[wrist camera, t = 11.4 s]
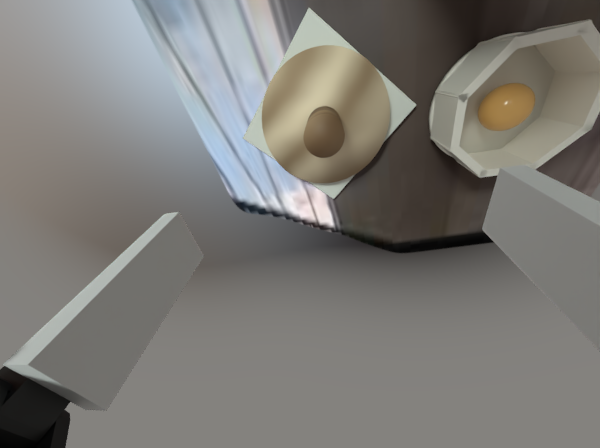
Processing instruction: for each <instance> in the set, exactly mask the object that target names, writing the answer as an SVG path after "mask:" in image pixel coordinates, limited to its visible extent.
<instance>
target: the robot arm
mask: <svg viewBox="0 0 600 448" xmlns="http://www.w3.org/2000/svg"><path fill="white" fill-rule="evenodd" d="M482 230H483V231H484V232H485V233H486V234H487V235H488V236H489V237H490V238H491V239H492V240H493V241H494V242H495V243H496V244H497V246H498V247H499V248H500V249H501V250H502V251H503V252H504V253H505V254H506V255H507V256H508V257H509V258H510V259H511V260H512V261H513V262H514V263H515V264H516V265H517V266H518V267H519V268H520V269H521V270H522V271H523V273H524V274H525V275H526V276H527V277H528V278H529V279H530V280H531V281H532V282H533V283H534V284H535V285H536V286H537V287H538V288H539V289H540V290H541V291H542V292H543V293H544V294H545V295H546V296H547V297H548V298H549V299H550V300H551V302H552V303H553V304H554V305H555V306H556V307H557V308H558V309H559V310H560V311H561V312H562V313H563V314H564V315H565V316H566V317H567V318H568V319H569V320H570V321H571V322H572V323H573V324H574V325H575V326H576V327H577V329H579V330H580V332H581V333H582V334H583V335H584V336H585V337H586V338H587V339H588V340H589V341H590V342H591V343H592V344H593V345H594V346H595V347H596V348H597V349H598V350H599V351H600V202H599V201H597V200H595V199H593V198H591V197H589V196H587V195H585V194H583V193H581V192H579V191H577V190H575V189H573V188H571V187H569V186H567V185H565V184H563V183H561V182H559V181H557V180H555V179H553V178H550V177H548V176H546V175H544V174H542V173H540V172H538V171H536V170H534V169H532V168H530V167H528V166H526V165H518V166H510V167H503V168H500V169H499V173H498V176H497V180H496V183H495V186H494V190H493V193H492V197H491V200H490V203H489V207H488V210H487V214H486V217H485V220H484V224H483V227H482ZM203 257H204V255H203V253H202V252H201V250H200V248H199V246H198V245H197V243H196V241H195V239H194V238H193V236H192V234H191V232H190V230H189V229H188V227H187V225H186V223H185V222H184V220H183V218H182V216H181V214H180V213H179V212H175V213H168V214H164V215H163V216H162V217H161V218H160V219H159V220H158V221H157V222H156V223H154V224H153V225H152V226H151V227H150V228H149V229H148V230H147V231H146V232H145V233H144V234H143V235H142V236H140V237H139V238H138V239H137V240H136V241H135V242H134V243H133V244H132V245H131V246H130V247H129V248H128V249H126V250H125V251H124V252H123V253H122V254H121V255H120V256H119V257H118V258H117V259H116V260H115V261H114V262H112V264H110V265H109V266H108V267H107V268H106V269H105V270H104V271H103V272H102V273H101V274H100V275H99V276H97V277H96V278H95V279H94V280H93V281H92V282H91V283H90V284H89V285H88V286H87V287H86V288H85V289H83V290H82V291H81V292H80V293H79V294H78V295H77V296H76V297H75V298H74V299H73V300H72V301H71V302H70V303H68V304H67V305H66V306H65V307H64V308H63V309H62V310H61V311H60V312H59V313H58V314H57V315H55V316H54V317H53V318H52V319H51V320H50V321H49V322H48V323H47V324H46V325H45V326H44V327H43V328H42V329H40V330H39V331H38V332H37V333H36V334H35V335H34V336H33V337H32V338H31V339H30V340H29V341H28V342H26V343H25V344H24V345H23V346H22V347H21V348H20V349H19V350H18V351H17V352H16V353H15V354H14V355H12V356H11V357H10V358H9V359H8V360H7V361H6V362H5V363H4V364H3V365H4V367H3V368H2V369H1V370H0V448H65V446H66V440H67V435H68V429H69V424H70V414H69V413H68V412H67V411H66V410H64V409H65V408H66V407H67V405H68V404H69V403H70V402H72V403H74V404H76V405H78V406H80V407H82V408H83V409H85V410H107V409H108V408H109V406H110V404H111V403H112V401H113V399H114V398H115V396H116V395H117V393H118V392H119V390H120V389H121V387H122V385H123V384H124V382H125V381H126V379H127V377H128V376H129V374H130V373H131V371H132V369H133V368H134V366H135V365H136V363H137V362H138V360H139V358H140V357H141V355H142V354H143V352H144V350H145V349H146V347H147V346H148V344H149V342H150V341H151V339H152V338H153V336H154V335H155V333H156V331H157V330H158V328H159V327H160V325H161V323H162V322H163V320H164V319H165V317H166V315H167V314H168V312H169V311H170V309H171V308H172V306H173V304H174V303H175V301H176V300H177V298H178V297H179V295H180V293H181V292H182V290H183V289H184V287H185V285H186V284H187V282H188V281H189V279H190V277H191V276H192V274H193V273H194V271H195V270H196V268H197V266H198V265H199V263H200V262H201V260H202V258H203Z"/></svg>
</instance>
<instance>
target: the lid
mask: <svg viewBox="0 0 600 448" xmlns="http://www.w3.org/2000/svg"><path fill="white" fill-rule="evenodd" d="M389 120H390V102H389V96H388V92H387V89H386V86H385V83H384V81H383V79H382V77H381V75H380V74H379V72H378V71H377V69H376V68H375V67H374V66H373V65H372V64H371V63H370V61H369V60H367V59H366V58H365V57H363V56H362V55H361V54H359V53H357V52H355V51H353V50H351V49H348V48H345V47H341V46H335V45H323V46H317V47H312V48H309V49H306V50H304V51H302V52H300V53H298V54H296V55H295V56H293V57H292V58H290V59H289V60H288V61H287V62H286V63H285V64H284V65H283V66H282V67H281V68H280V69H279V70H278V71H277V73H276V74H275V75H274V77H273V79H272V80H271V82H270V84H269V86H268V89H267V91H266V94H265V97H264V101H263V107H262V129H263V134H264V138H265V141H266V144H267V146H268V148H269V150H270V152H271V154H272V155H273V157H274V158H275V159H276V161H277V162H278V163H279V164H280V165H281V166H282V167H283V168H284V169H285V170H286V171H288V172H289V173H290V174H292V175H294V176H295V177H297V178H300V179H302V180H305V181H308V182H313V183H333V182H338V181H341V180H344V179H347V178H349V177H351V176H353V175H355V174H356V173H358V172H359V171H361V170H362V169H363V168H364V167H366V166H367V165H368V164H369V163H370V162H371V161H372V159H373V158H374V157H375V156H376V154H377V153H378V151H379V149H380V148H381V146H382V144H383V142H384V140H385V137H386V134H387V131H388V126H389Z"/></svg>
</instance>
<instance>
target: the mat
mask: <svg viewBox="0 0 600 448" xmlns="http://www.w3.org/2000/svg"><path fill="white" fill-rule="evenodd" d="M323 45H335V46H341V47H345V48H348V49H351V50H353V51H355V52H357V51H356V50H355V49H354V48H353V47H352V46H351V45H350V44H349V43H348V42H346V41H345V40H344V39H343V38H342V37H341V36H340V35H339V34H338V33H337V32H335V31H334V30H333V29H332V28H331V27H330V26H329V25H328V24H327V23H325V22H324V21H323V20H322V19H321V18H320V17H319V16H318V15H317V14H316V13H314V12H313V11H312V10H311V9H310V8H309V9H308V11H307V13H306V15H305V17H304V19H303V21H302V23H301V24H300V26H299V28H298V30H297V32H296V34H295V36H294V38H293V40H292V42H291V44H290V46H289V48H288V50H287V52H286V54H285V56H284V58H283V60H282V62H281V64H280V66H279V68H278V70H279V69H280V68H281V67H282V66H283V65H284V64H285V63H286V62H287V61H288V60H289V59H290V58H292V57H293V56H295V55H296V54H298V53H300V52H302V51H304V50H306V49H309V48H312V47H317V46H323ZM357 53H359V52H357ZM359 54H360V53H359ZM278 70H277V71H278ZM377 71H378V70H377ZM378 72H379V74H380V75H381V77H382V79H383V81H384V83H385V86H386V89H387V92H388V96H389V102H390V120H389V126H388V131H387V134H386V137H385V140H386V139H387V138H388V137H389V136H390V135H391V134H392V132H393V131H394V130H395V129H396V128H397V127H398V126H399V124H400V123H401V122H402V121H403V120H404V119H405V118H406V116H407V115H408V114H409V113H410V112H411V111H412V110H413V109H414V107H415V106H416V104H415V103H414V102H413V101H412V100H410V99H409V98H408V97H407V96H406V95H405V94H404V93H403V92H402V91H401V90H399V89H398V88H397V87H396V86H395V85H394V84H393V83H392V82H391V81H389V80H388V79H387V78H386V77H385V76H384V75H383V74H382V73H381V72H380V71H378ZM276 73H277V72H276ZM264 97H265V96H264ZM263 101H264V98H263V100H262V102H261V104H260V106H259V107H258V109H257V111H256V113H255V115H254V117H253V119H252V121H251V123H250V125H249V127H248V129H247V131H246V133H245V135H244V137H243V139H245V140H246V141H248V142H249V143H251V144H252V145H254V146H255V147H257V148H258V149H260V150H261V151H263V152H264V153H266V154H267V155H269V156H270V157H272V158H273V159H275V158H274V157H273V155H272V154H271V152H270V150H269V148H268V146H267V144H266V141H265V138H264V134H263V129H262V107H263ZM385 140H384V141H385ZM383 143H384V142H383ZM275 160H276V159H275ZM353 177H354V175H353V176H351V177H349V178H347V179H344V180H341V181H338V182H333V183H313V182H309V183H311V184H312V185H314V186H315V187H317V188H318V189H319V190H321V191H322V192H324V193H325V194H327V195H328V196H330V197H331V198H333V199H334V198H335V197H336V196H337V195H338V194H339V193H340V191H341V190H342V189H343V188H344V187H345V186H346V185H347V183H348V182H349V181H350V180H351V179H352V178H353Z"/></svg>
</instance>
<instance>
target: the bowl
mask: <svg viewBox="0 0 600 448" xmlns="http://www.w3.org/2000/svg"><path fill="white" fill-rule="evenodd" d="M599 112H600V33H599V32H598V30H597V29H596V28H595V26H594V25H593V23H592V20H590V19H589V20H584V21H578V22H572V23H567V24H561V25H556V26H550V27H545V28H539V29H537V30H534V31H530V32H517V33H511V34H505V35H501V36H498V37H494V38H492V39H489V40H487V41H482V42H479V43H478V44H477V46H476V47H474V48H473V49H471V50H470V51H469V52H467V53H466V54H465V55H464V56H462V57H461V58H460V59H459V60H458V61H457V62H456V63H455V64H454V65H453V66H452V67H451V68H450V70H449V71H448V72H447V73H446V74H445V76H444V77H443V79H442V80H441V82H440V83H439V85H438V87H437V89H436V91H435V93H434V96H433V98H432V101H431V105H430V109H429V115H428V124H429V131H430V135H431V137H430V139H431V140H433V141H434V143H435V144H436V145H437V147H438V148H439V149H440V150H442V151H443V152H445V153H446V154H447V155H449V156H451V157H453V158H454V159H455V160H456V162H458V163H459V164H461V165H462V166H463V167H465V168H466V169H468V170H469V171H470V172H472V173H473V174H475V175H476V176H478V177H479V178H482V177H489V176H497V175H498V173H499V169H500V168H503V167H510V166H518V165H526V166H528V167H530V168H532V169H534V170H536V169H537V168H538V167H540V166H541V165H542V164H544V163H545V162H547V161H548V160H549V159H551V158H552V157H553V156H555V155H556V154H558V153H559V152H560V151H562V150H563V149H564V148H566V147H567V146H569V145H570V144H571V143H573V142H574V141H575V140H577V139H578V138H580V137H581V136H582V135H584V134H585V133H586V132H588V131H589V130H591V129H592V128H593V125H594V122H595V120H596V118H597V116H598V114H599Z"/></svg>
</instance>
